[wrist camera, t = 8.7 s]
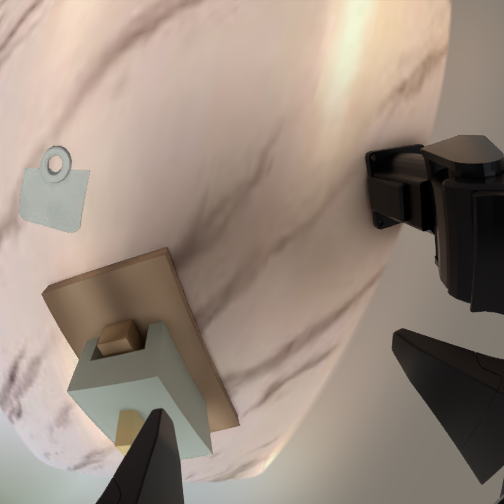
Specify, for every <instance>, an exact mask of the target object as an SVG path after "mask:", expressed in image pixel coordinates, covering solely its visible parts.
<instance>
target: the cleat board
mask: <svg viewBox="0 0 504 504" xmlns="http://www.w3.org/2000/svg"><path fill="white" fill-rule="evenodd" d="M42 296H43V298H44V300H45V302H46V304H47V306H48V308H49V310H50V312H51V314H52V315H53V317H54V319H55V321H56V323H57V324H58V326H59V328H60V330H61V331H62V333H63V335H64V336H65V338H66V340H67V341H68V343H69V344H70V346H71V348H72V349H73V351H74V352H75V354H76V355H77V357H78V358H79V359H80V356H81V354H82V352H83V349H84V347H85V345H86V342H87V340H89V339H93V338H98V337H99V341H98V343H97V346H98V348H99V350H100V351H101V353H102V354H103V356H104V358H107V357H112V356H117V355H121V354H126V353H130V352H134V351H139V350H143V349H145V344H146V339H147V333H148V328H149V324H153V323H157V322H161V321H164V323H165V325H166V327H167V329H168V331H169V333H170V335H171V337H172V340H173V342H174V344H175V346H176V348H177V350H178V352H179V354H180V356H181V357H182V359H183V361H184V363H185V365H186V367H187V369H188V371H189V373H190V375H191V376H192V378H193V380H194V382H195V384H196V386H197V387H198V389H199V391H200V393H201V394H202V396H203V398H204V400H205V401H206V405H207V414H208V422H209V430H210V433H211V432H215V431H220V430H224V429H228V428H232V427H237V426H240V424H239V420H238V415H237V413H236V411H235V409H234V407H233V405H232V403H231V401H230V399H229V397H228V395H227V393H226V391H225V388H224V386H223V384H222V382H221V380H220V378H219V376H218V373H217V371H216V369H215V367H214V365H213V362H212V360H211V358H210V356H209V353H208V351H207V349H206V346H205V344H204V342H203V339H202V337H201V335H200V332H199V330H198V327H197V325H196V323H195V320H194V318H193V315H192V313H191V310H190V308H189V305H188V303H187V300H186V298H185V295H184V292H183V290H182V287H181V284H180V282H179V279H178V276H177V274H176V271H175V268H174V266H173V263H172V260H171V257H170V254H169V252H168V249H167V248H163V249H160V250H157V251H154V252H150V253H147V254H144V255H141V256H138V257H134V258H131V259H128V260H125V261H122V262H119V263H115V264H112V265H109V266H106V267H103V268H100V269H97V270H94V271H91V272H88V273H85V274H82V275H79V276H76V277H73V278H70V279H67V280H64V281H61V282H58V283H55V284H52V285H49V286H48V287H47V288H46V289H45V290H44V292H43V293H42Z"/></svg>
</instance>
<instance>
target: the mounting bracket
mask: <svg viewBox="0 0 504 504" xmlns="http://www.w3.org/2000/svg"><path fill="white" fill-rule="evenodd" d="M54 155H58V156H60V158H61V159H62V162H63V164H62V169H60V170H59V171H58V172H53V171H51V169H49V168H48V162H49V160H50V158H51V157H52V156H54ZM71 163H72V160H71V156H70V153H69V152H68V151H67V150H66V148H64V147H62V146H53V147H51V148H50V149H48V150H47V151H46V152H45V154H44V155H43V157H42V160H41V168H25V171H24V177H23V183H22V190H21V198H20V207H19V213H20V215H21V217H22V218H23V219H24V220H26V221H29V222H32V223H36V224H39V225H43V226H46V227H50V228H53V229H57V230H61V231H64V232H68V233H73V232H76V231H77V230H78V229H79V228H80V223H81V216H82V210H83V204H84V199H85V193H86V188H87V183H88V178H89V173H90V171H87V170H71Z"/></svg>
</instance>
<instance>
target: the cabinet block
mask: <svg viewBox="0 0 504 504" xmlns="http://www.w3.org/2000/svg"><path fill="white" fill-rule="evenodd" d="M98 341H99V337H98V338H93V339H89V340H87V342H86V345H85V347H84V349H83V352H82V354H81V356H80V359H79V361H78V364H77V366H76V369H75V371H74V374H73V376H72V379H71V382H70V384H69V387H68V390H67V392H68V394H69V395H70V396H71V397H72V398H73V400H74V401H75V402H76V403H77V404H78V406H79V407H80V408H81V409H82V410H83V411H84V412H85V414H86V415H87V416H88V417H89V418H90V419H91V420H92V421H93V422H94V423H95V425H96V426H97V427H98V428H99V429H100V430H101V431H102V432H103V433H104V434H105V435H106V436H107V437H108V438H109V439H110V440H111V441H112V442H113V443H114V444H115V447H116V448H117V449H118V450H119V451H120V452H121V453H122V454H123V455H124V456H125V455H126V453H127V452H128V450H129V448H130V447H131V445H132V443H133V441H134V440H135V438H136V436H137V435H138V433H139V431H140V429H141V428H142V426H143V424H144V423H145V421H146V419H147V418H148V416H149V414H150V412H151V411H152V410H153V409H157V408H163V409H164V410H165V411H166V412H167V414H168V415H169V416H170V418H171V419H172V421H173V423H174V428H175V434H176V439H177V445H178V450H179V455H180V460H182V459H189V458H195V457H201V456H206V455H212V454H213V452H212V445H211V437H210V430H209V422H208V414H207V405H206V401H205V400H204V398H203V396H202V394H201V393H200V391H199V389H198V387H197V386H196V384H195V382H194V380H193V378H192V376H191V375H190V373H189V371H188V369H187V367H186V365H185V363H184V361H183V359H182V357H181V356H180V354H179V352H178V350H177V348H176V346H175V344H174V342H173V340H172V337H171V335H170V333H169V331H168V329H167V327H166V325H165V323H164V321H161V322H157V323H153V324H149V328H148V333H147V339H146V344H145V349H143V350H139V351H134V352H130V353H126V354H121V355H117V356H112V357H107V358H104V356H103V354H102V353H101V351H100V350H99V348H98V346H97V343H98Z"/></svg>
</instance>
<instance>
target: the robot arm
mask: <svg viewBox="0 0 504 504" xmlns="http://www.w3.org/2000/svg"><path fill="white" fill-rule="evenodd" d="M420 149H421V151H420ZM372 155H373V157H374V159H373V160H372V159H371V156H372ZM366 161H367V168H368V175H369V179H368V183H369V191H370V200H371V208H372V210H373V221H374V226H375V227H376V228H378V229H384V228H387V227H390V226H393V225H396V224H399V223H406V224H408V225H410V226H412V227H415V228H417V229H419V230H421V231H427V232H429V233H431V234H433V235H435V245H436V256H435V264H436V265H437V266H438V268H439V275H440V279H441V281H442V282H443V284H444V285H445V286H446V288H448V293H449V294H450V295H451V296H453V297H455V298H456V299H458V300H461V301H463V302H466V303H470V304H471V306H470V311H471V312H482V311H487V312H495V313H500V314H503V315H504V154H503V153H502V152H501V151H500V150H499V149H498V148H497V147H496V146H495V145H494V144H493V143H492V142H491V141H490V140H489V139H488V138H487V137H485V136H483V135H459V136H455V137H453V138H450V139H447V140H444V141H441V142H438V143H435V144H432V145H429V146H426V147H424V146H423V145H421V144H416V145H409V146H402V147H395V148H388V149H382V150H376V151H370V152H368V153H367V155H366ZM380 221H381V223H380V225H379V222H380ZM392 351H393V353H394V355H395V356H396V358H397V360H398V362H399V363H400V365H401V367H402V368H403V370H404V372H405V374H406V375H407V377H408V379H409V380H410V382H411V383H412V385H413V386H414V387H415V389H416V390H417V391H418V393H419V394H420V396H421V397H422V398H423V400H424V401H425V402H426V404H427V405H428V406H429V408H430V409H431V411H432V412H433V414H434V415H435V416H436V418H437V419H438V421H439V422H440V423H441V425H442V426H443V427H444V429H445V431H446V432H447V433H448V435H449V436H450V438H451V439H452V441H453V442H454V444H455V445H456V447H457V448H458V450H459V451H460V453H461V454H462V456H463V457H464V459H465V460H466V462H467V463H468V465H469V466H470V468H471V469H472V471H473V472H474V474H475V476H476V477H477V479H478V480H479V482H480V483H481V484H482V485H483V484H484V483H485V482H486V481H487V480H489V479H490V478H491V477H492V476H493V475H494V474H495V473H496V472H497V471H498V470H499V469H501V468H502V467H503V466H504V359H499V358H495V357H491V356H487V355H484V354H481V353H478V352H476V353H475V352H474V351H471V350H468V349H465V348H462V347H459V346H455V345H452V344H449V343H446V342H443V341H440V340H437V339H434V338H431V337H428V336H425V335H422V334H419V333H416V332H413V331H410V330H407V329H404V328H401V329H399V330H397V331H395V332H394V333H393V340H392ZM96 504H184V496H183V487H182V475H181V463H180V455H179V450H178V445H177V439H176V434H175V428H174V423H173V421H172V419H171V418H170V416H169V415H168V414H167V412H166V411H165V410H164V409H163V408H157V409H153V410H152V411H151V412H150V414H149V416H148V418H147V419H146V421H145V423H144V424H143V426H142V428H141V429H140V431H139V433H138V435H137V436H136V438H135V440H134V441H133V443H132V445H131V447H130V448H129V450H128V452H127V453H126V455H125V457H124V459H123V460H122V462H121V464H120V465H119V467H118V469H117V471H116V472H115V474H114V476H113V478H112V479H111V481H110V483H109V484H108V486H107V487H106V489H105V491H104V492H103V494H102V495H101V497H100V498H99V500H98V501H97V502H96ZM494 504H504V480H503V485H502V490H501V495H500V498H499V499H498V500H497V501H496V502H495V503H494Z"/></svg>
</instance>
